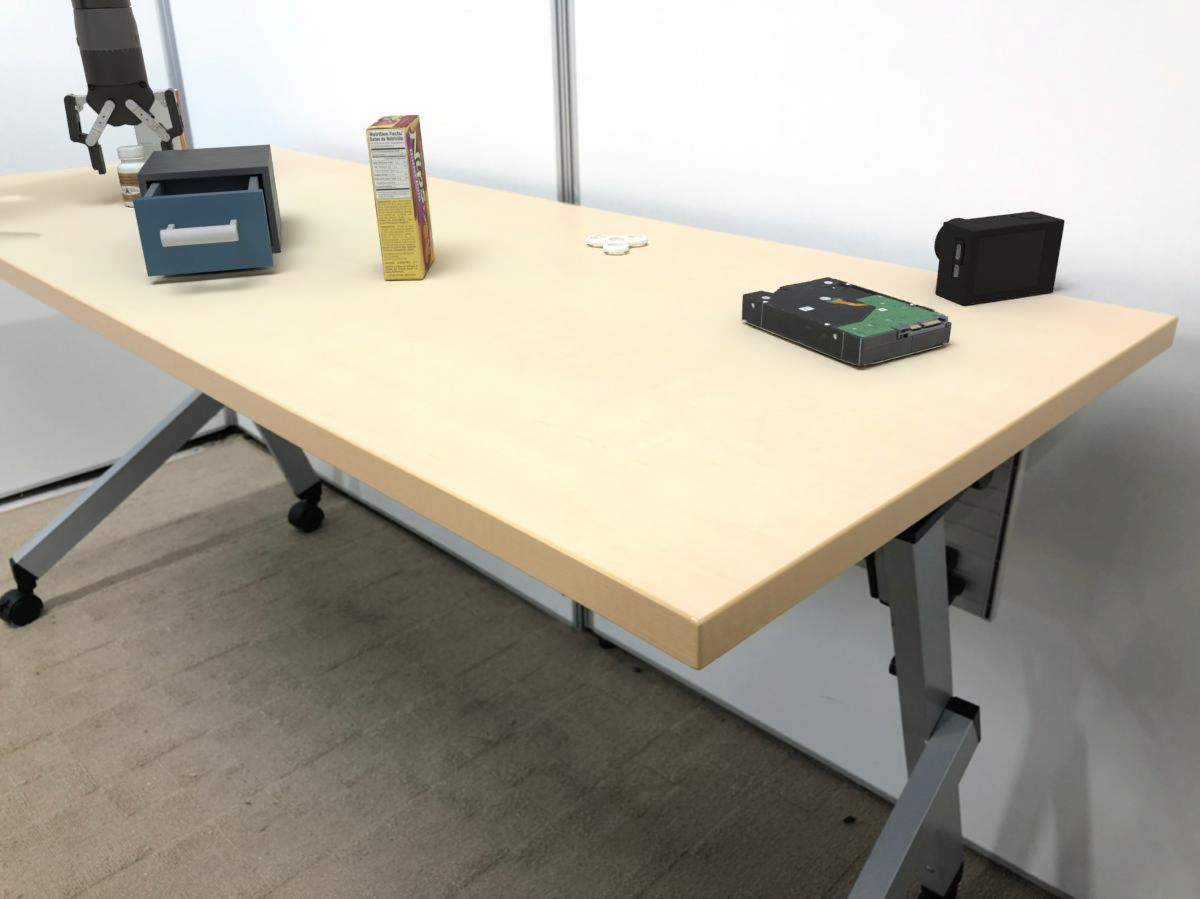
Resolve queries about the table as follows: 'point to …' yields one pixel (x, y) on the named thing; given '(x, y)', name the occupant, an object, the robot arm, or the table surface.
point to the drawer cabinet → (218, 173)
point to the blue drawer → (203, 225)
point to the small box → (149, 137)
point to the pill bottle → (130, 171)
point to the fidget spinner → (616, 242)
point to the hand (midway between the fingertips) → (136, 171)
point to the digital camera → (997, 257)
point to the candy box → (401, 196)
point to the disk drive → (846, 320)
